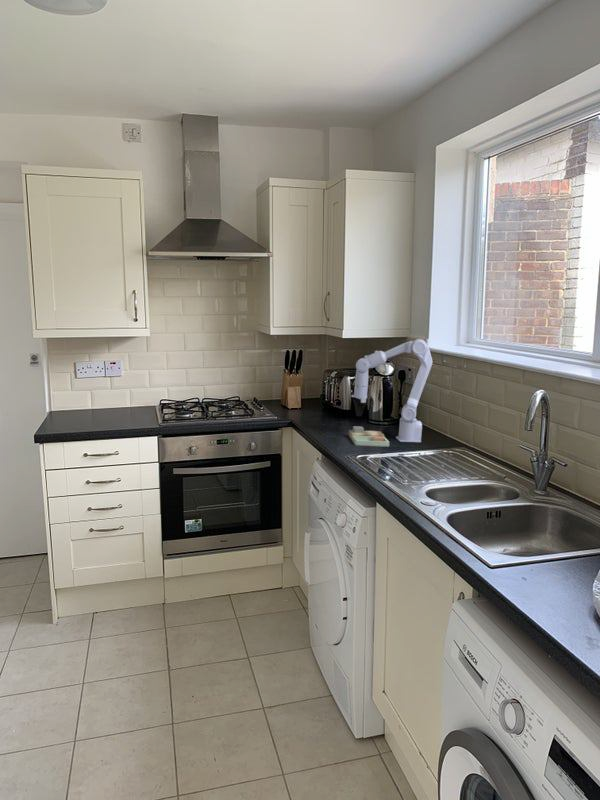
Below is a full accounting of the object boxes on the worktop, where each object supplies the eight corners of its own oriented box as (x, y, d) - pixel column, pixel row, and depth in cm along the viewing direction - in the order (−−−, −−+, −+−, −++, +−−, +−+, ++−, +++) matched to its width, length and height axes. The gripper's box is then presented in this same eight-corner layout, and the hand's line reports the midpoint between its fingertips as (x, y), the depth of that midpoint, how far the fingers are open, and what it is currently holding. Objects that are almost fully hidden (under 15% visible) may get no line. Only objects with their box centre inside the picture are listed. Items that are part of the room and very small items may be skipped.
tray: (384, 441, 260) (384, 436, 260) (389, 446, 252) (389, 441, 251) (351, 440, 259) (352, 435, 259) (355, 445, 250) (356, 440, 250)
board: (379, 436, 269) (380, 431, 268) (383, 441, 261) (384, 435, 260) (348, 435, 267) (349, 430, 267) (351, 439, 260) (352, 434, 259)
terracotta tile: (381, 440, 259) (381, 436, 258) (383, 443, 255) (383, 438, 254) (372, 440, 258) (372, 436, 258) (374, 442, 254) (374, 438, 254)
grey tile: (361, 431, 267) (362, 426, 266) (363, 433, 263) (363, 428, 262) (352, 430, 266) (353, 426, 266) (354, 432, 262) (354, 428, 262)
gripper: (349, 382, 273) (347, 412, 275) (355, 387, 259) (352, 419, 261) (364, 383, 274) (362, 413, 276) (371, 388, 259) (369, 419, 262)
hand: (358, 416), depth 268 cm, fingers closed
